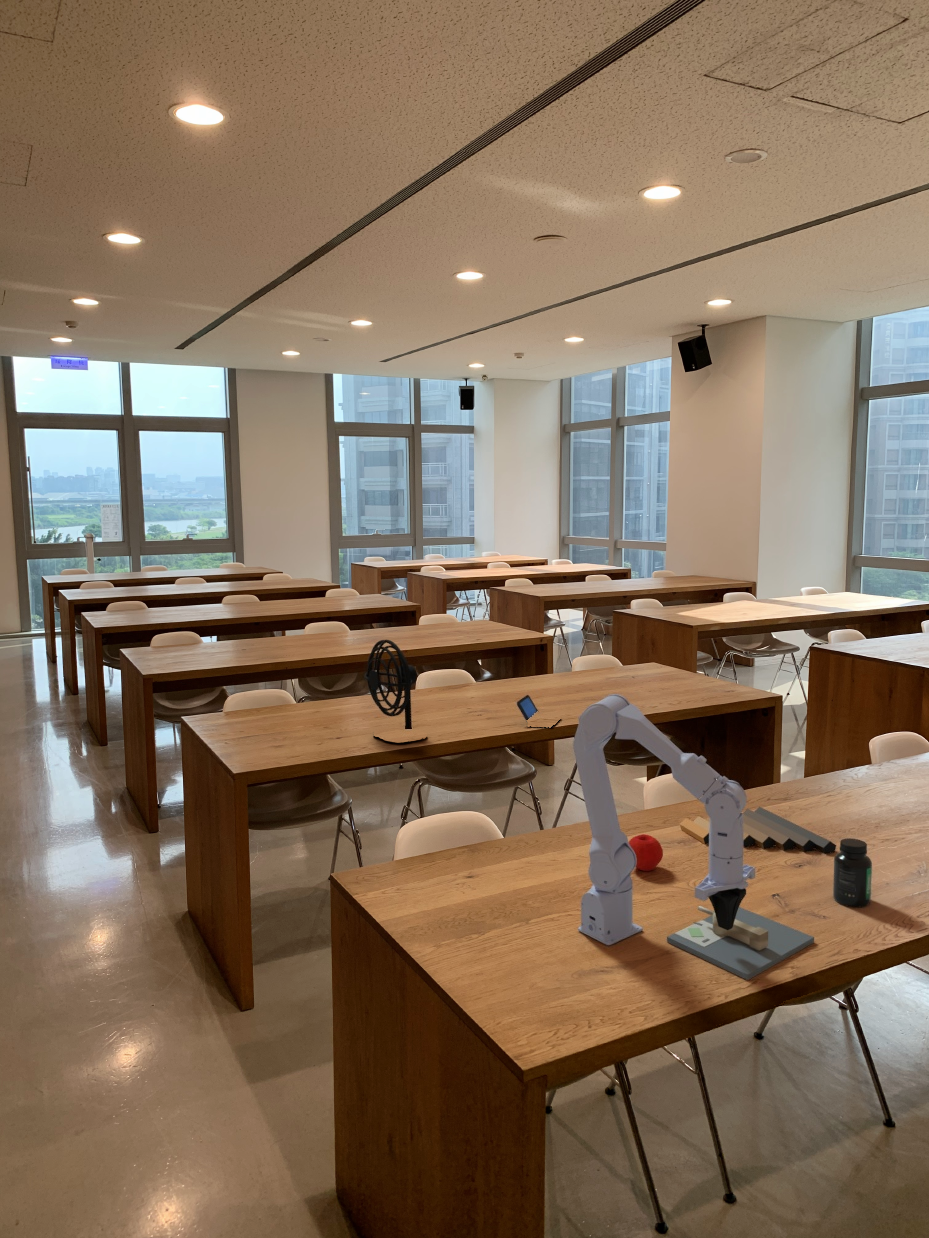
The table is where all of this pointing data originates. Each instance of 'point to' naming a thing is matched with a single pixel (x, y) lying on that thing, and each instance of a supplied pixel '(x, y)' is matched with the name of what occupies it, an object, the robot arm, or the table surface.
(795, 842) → the pan flute
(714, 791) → the robot arm
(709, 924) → the grey square board
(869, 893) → the supplement bottle
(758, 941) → the peg lever
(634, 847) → the apple
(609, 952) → the table surface
